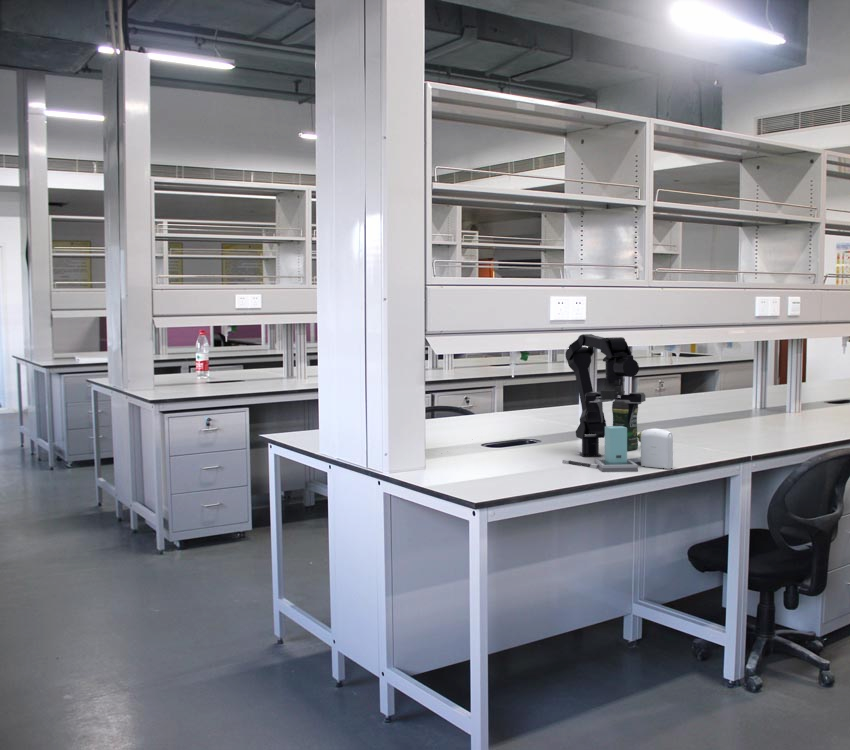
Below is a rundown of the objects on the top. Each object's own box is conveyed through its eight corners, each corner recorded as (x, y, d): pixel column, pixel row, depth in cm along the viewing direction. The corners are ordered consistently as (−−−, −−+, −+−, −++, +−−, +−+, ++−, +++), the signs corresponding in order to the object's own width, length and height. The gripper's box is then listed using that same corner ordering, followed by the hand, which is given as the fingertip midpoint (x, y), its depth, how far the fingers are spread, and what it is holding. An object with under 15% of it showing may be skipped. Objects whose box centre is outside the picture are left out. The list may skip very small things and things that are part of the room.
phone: (598, 463, 265) (598, 460, 264) (636, 461, 268) (636, 457, 268) (608, 467, 258) (608, 463, 258) (647, 464, 261) (647, 461, 261)
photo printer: (638, 466, 258) (638, 428, 258) (644, 464, 262) (645, 426, 261) (668, 470, 251) (668, 430, 251) (674, 468, 255) (675, 429, 254)
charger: (604, 463, 258) (604, 426, 257) (621, 463, 258) (621, 425, 257) (610, 466, 252) (610, 428, 252) (627, 465, 253) (627, 427, 252)
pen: (562, 462, 267) (562, 459, 267) (565, 462, 268) (565, 459, 268) (596, 468, 256) (596, 465, 256) (599, 467, 257) (599, 464, 257)
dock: (594, 465, 261) (594, 459, 261) (629, 465, 261) (629, 459, 261) (602, 471, 250) (602, 465, 250) (637, 471, 250) (637, 465, 250)
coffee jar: (626, 452, 287) (626, 400, 285) (608, 449, 292) (608, 398, 291) (642, 448, 293) (642, 398, 292) (623, 446, 299) (623, 396, 298)
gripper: (578, 376, 261) (579, 425, 262) (636, 377, 252) (636, 427, 252) (590, 375, 271) (590, 421, 271) (645, 375, 261) (646, 423, 262)
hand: (615, 423), depth 264 cm, fingers open, 9 cm apart
